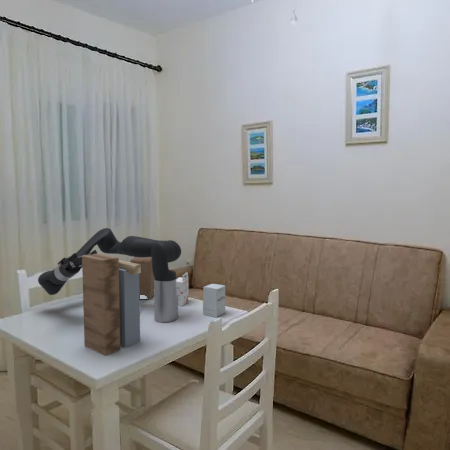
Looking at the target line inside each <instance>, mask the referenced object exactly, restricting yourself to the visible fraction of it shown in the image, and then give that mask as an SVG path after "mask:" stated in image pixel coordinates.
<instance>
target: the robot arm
mask: <svg viewBox="0 0 450 450" xmlns="http://www.w3.org/2000/svg"><path fill="white" fill-rule="evenodd" d="M96 246H97V248H98V249H99V251H100V252H102V253H104V254H109V255H110V254H112V255H113V254H115V255H123V256H129V257H133V258H134V257H151V258H152V271H153V274H154V294H153V300H154V301H153V304H154V307H153V309H154V313H153V315H154V316H153V317H154V319H153V320H154V321H156V322H158V323H169V322H174V321H175V320H177V318H179V306H178V296H177V295H176V279H177V272H176V271H175V270H171V269H170V268H169V263H172V262H176V261H177V260H178V259H179V258H180V257H181V255H182V248H181V246H180V245H179V244H178V243H177V242H176V241H175V240H173V239H172V240H171V239H170V240H158V239H152V238H148V237H147V238H146V237H143V236H135V235H129V236H126V237H125V238H124V239H122V241H119V239H117V237H116V236H115V234H114V232H113V231H112V229H111V228H109V227H105V228H102V229H100V230H98V231H97V232H96V233H95V234H93V235H92V236H91V237H90V238H89V239H88V240H87V241H86V242H85V243H84V244H83V245H82V246H81V248H79V249H78V250H77V251H76V252H74V253H72V254H71V255H70V256H68V257H63V258H61V259H60V261H58V262H57V266H55V268H54V269H51V270H47V271H44V272H43V273H40V274H39V276H38V279H37V281H38V284H39V285H40V286H41V288H42V289H44V291H45V292H46V293H47V294H48V295H50V296H54V295H57V294H58V293H59V292H60V291H61V290H62V288H64V286H65V284H66V283H67V282H68V281H69V280H70V279H72V277H74V276H75V275H77V274H78V273H80V271H81V270H82V256H85V255H92V254H98V251H97V250H96V249H94V248H95V247H96ZM93 249H94V250H93Z"/></svg>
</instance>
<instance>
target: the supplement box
mask: <svg viewBox="0 0 450 450" xmlns="http://www.w3.org/2000/svg"><path fill="white" fill-rule="evenodd" d="M202 288H203V290H202V294H203V295H202V315H203V316H209V317H212V318H218V317H220V316H222V315H223V314H226V285H224V284H217V283H210V284H207V285H205V286H203V287H202Z"/></svg>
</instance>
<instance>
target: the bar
mask: <svg viewBox="0 0 450 450" xmlns="http://www.w3.org/2000/svg"><path fill="white" fill-rule="evenodd" d="M119 269H123V270H127V273H129V274H138V273H141V264H136V263H131V262H130V261H125V260H121V259H120V260H119Z"/></svg>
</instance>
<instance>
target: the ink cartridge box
mask: <svg viewBox="0 0 450 450" xmlns="http://www.w3.org/2000/svg"><path fill="white" fill-rule="evenodd" d="M181 276H182V277H181ZM181 276H180V277H177V278H176V295H177V296H178V307H179V306H180V307H181V306H182V307H184V306H185V305H186V304H187V303H188V302H189V273H188V271H186V272H185V273H184V274H182V275H181Z"/></svg>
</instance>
